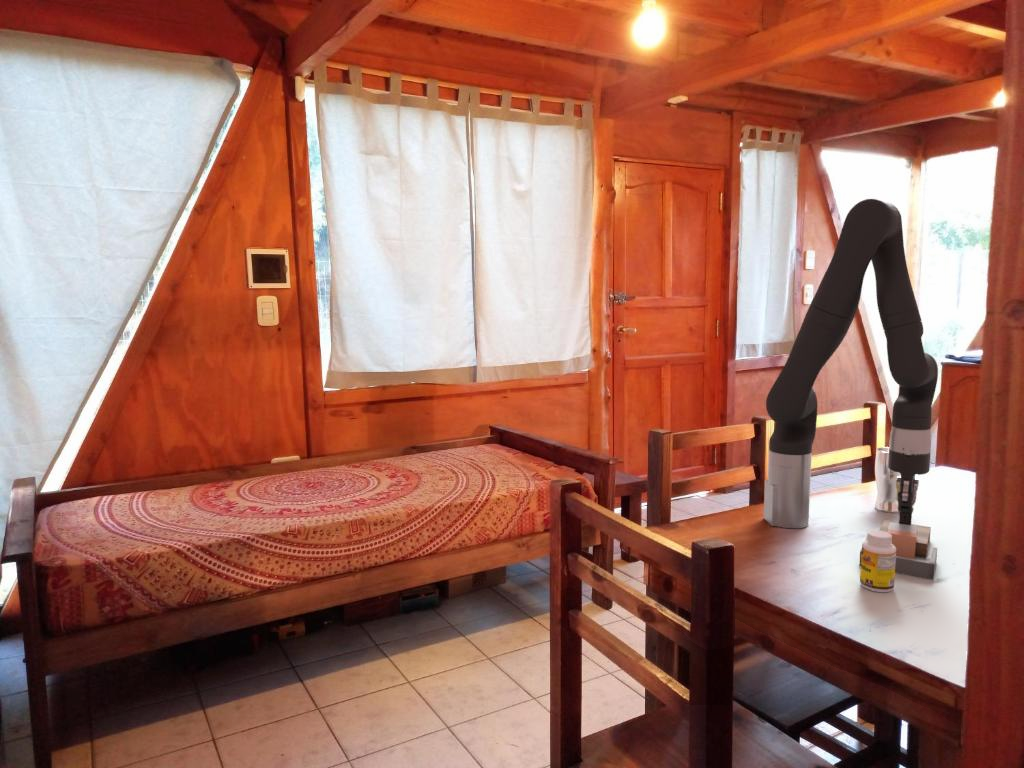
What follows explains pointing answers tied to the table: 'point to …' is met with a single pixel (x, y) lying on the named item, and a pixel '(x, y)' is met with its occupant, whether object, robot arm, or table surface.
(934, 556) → the charcoal tray
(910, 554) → the terracotta tile
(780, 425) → the robot arm
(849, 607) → the table surface
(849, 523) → the table surface
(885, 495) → the beer glass
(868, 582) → the supplement bottle
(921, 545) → the walnut board
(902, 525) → the grey tile
